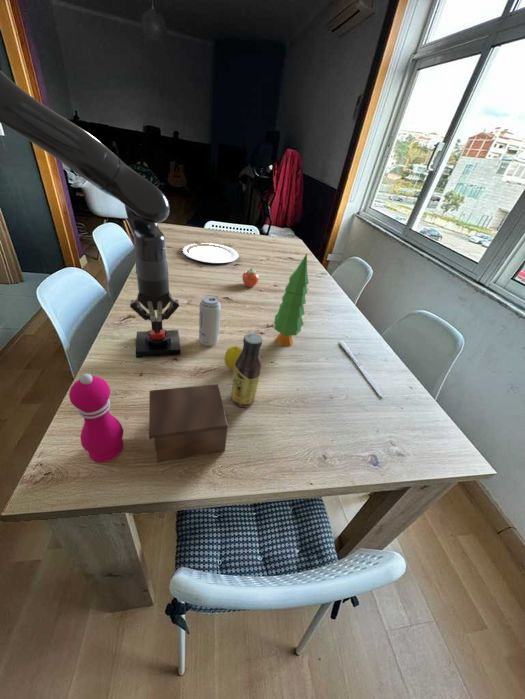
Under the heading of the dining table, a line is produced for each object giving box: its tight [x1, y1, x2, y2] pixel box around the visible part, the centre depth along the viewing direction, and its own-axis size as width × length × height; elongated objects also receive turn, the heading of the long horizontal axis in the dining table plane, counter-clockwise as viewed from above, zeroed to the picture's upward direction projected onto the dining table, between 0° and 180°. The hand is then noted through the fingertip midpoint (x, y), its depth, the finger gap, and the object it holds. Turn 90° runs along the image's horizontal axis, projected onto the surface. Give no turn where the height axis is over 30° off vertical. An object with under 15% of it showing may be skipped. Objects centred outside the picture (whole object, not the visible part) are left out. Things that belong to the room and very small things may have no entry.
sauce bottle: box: [230, 332, 263, 408], centre depth 69 cm, size 7×6×20 cm
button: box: [150, 328, 166, 340], centre depth 85 cm, size 4×4×2 cm
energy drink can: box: [198, 294, 222, 347], centre depth 88 cm, size 6×6×15 cm
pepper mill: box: [68, 373, 124, 463], centre depth 53 cm, size 7×7×20 cm
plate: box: [181, 242, 239, 265], centre depth 153 cm, size 29×29×2 cm
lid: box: [148, 383, 229, 440], centre depth 59 cm, size 14×12×1 cm
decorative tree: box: [273, 253, 309, 347], centre depth 90 cm, size 10×9×30 cm
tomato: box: [241, 267, 260, 288], centre depth 128 cm, size 7×7×8 cm
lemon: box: [223, 345, 243, 371], centre depth 81 cm, size 6×6×8 cm
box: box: [153, 427, 228, 463], centre depth 62 cm, size 14×12×8 cm
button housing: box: [134, 329, 181, 359], centre depth 86 cm, size 12×10×4 cm
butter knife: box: [339, 340, 384, 398], centre depth 93 cm, size 1×27×3 cm
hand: (157, 330), depth 84 cm, fingers closed
